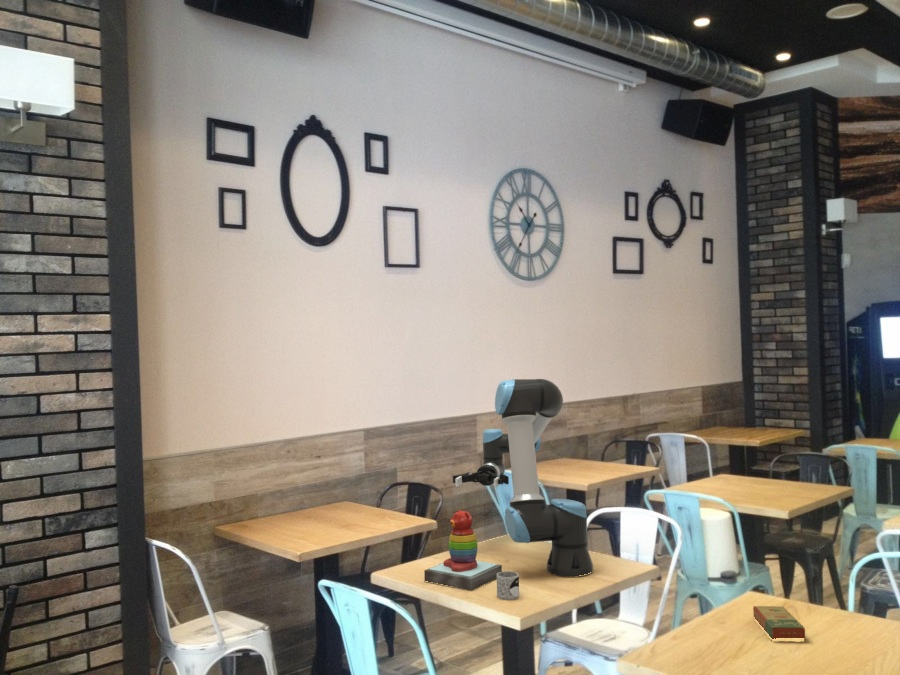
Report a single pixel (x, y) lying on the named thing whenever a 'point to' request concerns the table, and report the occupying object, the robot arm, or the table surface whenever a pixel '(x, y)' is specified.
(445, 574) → the plinth
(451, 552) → the stacking bear
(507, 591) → the mug
